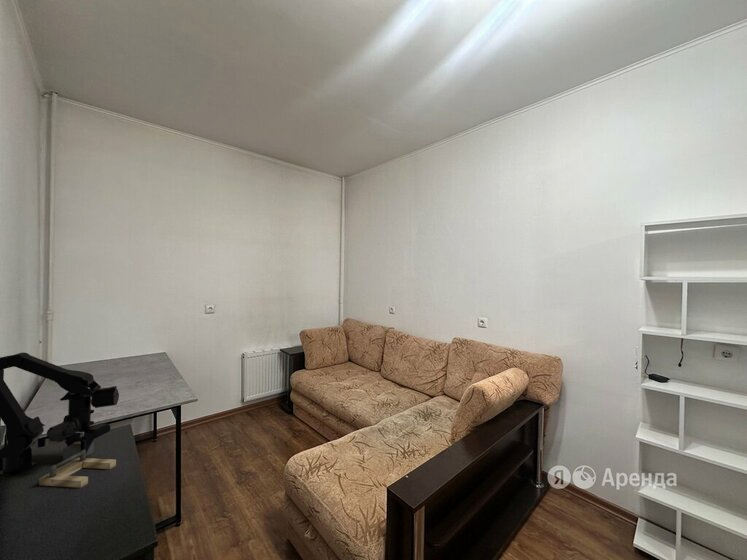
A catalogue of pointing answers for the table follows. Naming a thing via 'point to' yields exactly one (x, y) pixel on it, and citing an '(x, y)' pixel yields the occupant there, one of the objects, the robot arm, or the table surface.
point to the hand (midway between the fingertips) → (78, 454)
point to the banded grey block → (75, 450)
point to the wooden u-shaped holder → (74, 470)
